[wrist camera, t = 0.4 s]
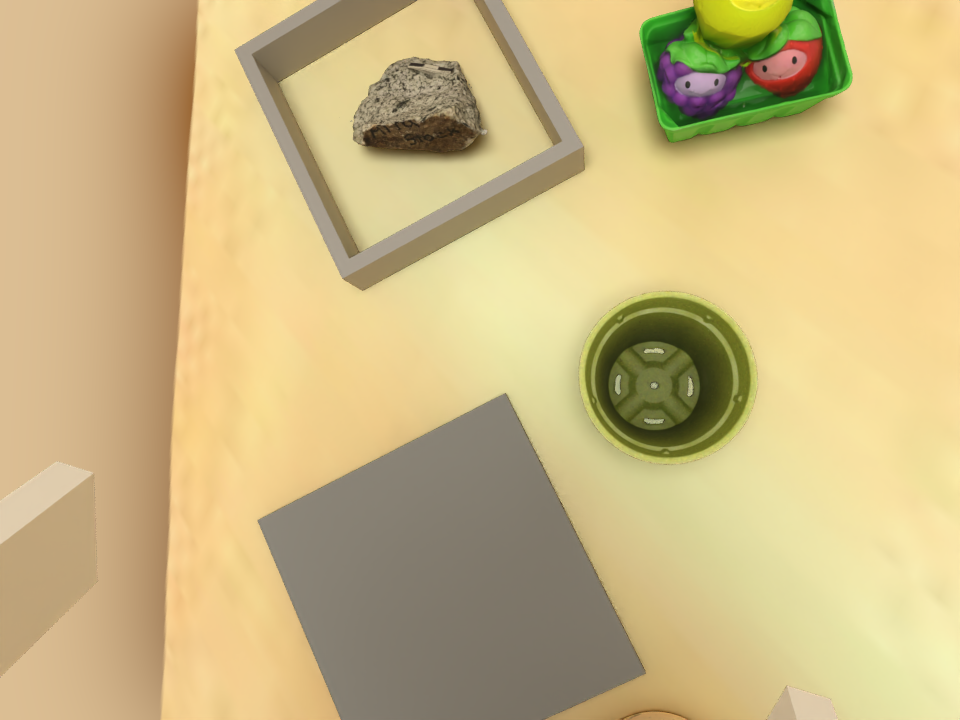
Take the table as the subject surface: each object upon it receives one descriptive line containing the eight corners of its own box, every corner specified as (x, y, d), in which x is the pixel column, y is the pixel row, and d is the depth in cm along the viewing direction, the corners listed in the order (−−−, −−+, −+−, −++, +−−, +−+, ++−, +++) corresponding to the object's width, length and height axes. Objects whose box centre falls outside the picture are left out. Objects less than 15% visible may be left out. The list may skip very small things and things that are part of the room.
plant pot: (582, 456, 45) (579, 463, 36) (580, 318, 46) (577, 293, 37) (727, 457, 43) (761, 465, 35) (722, 314, 44) (754, 287, 36)
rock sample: (478, -1, 45) (419, 41, 39) (521, 106, 49) (474, 159, 43) (367, 50, 51) (302, 94, 45) (413, 143, 55) (359, 194, 49)
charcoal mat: (644, 670, 43) (645, 673, 42) (375, 792, 45) (373, 796, 44) (506, 393, 46) (505, 393, 45) (260, 519, 48) (257, 520, 48)
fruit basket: (653, 165, 46) (673, 82, 35) (628, 47, 47) (640, -69, 36) (826, 126, 44) (905, 26, 33) (796, 5, 45) (862, -131, 34)
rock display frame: (584, 170, 47) (583, 146, 43) (362, 290, 48) (342, 278, 44) (465, -43, 50) (454, -83, 46) (261, 78, 51) (234, 49, 48)
